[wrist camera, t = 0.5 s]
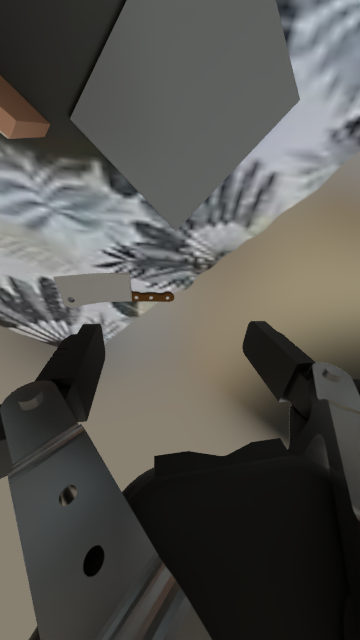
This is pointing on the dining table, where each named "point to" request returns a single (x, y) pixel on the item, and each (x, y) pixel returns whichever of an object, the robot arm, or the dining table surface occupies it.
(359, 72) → the dining table surface
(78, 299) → the kitchen cleaver
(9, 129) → the tile
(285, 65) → the mat
